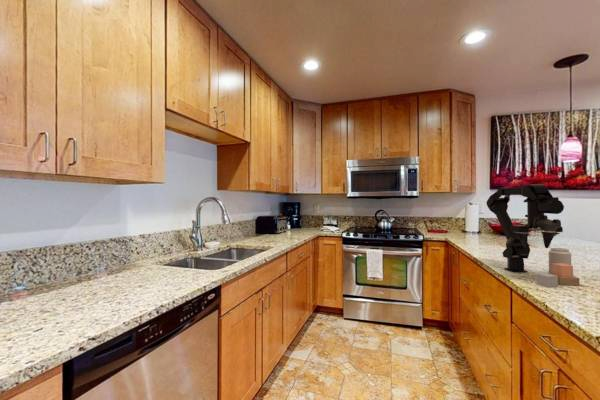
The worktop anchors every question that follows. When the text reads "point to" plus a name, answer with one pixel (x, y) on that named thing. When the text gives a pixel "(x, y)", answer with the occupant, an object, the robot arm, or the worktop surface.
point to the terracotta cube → (562, 270)
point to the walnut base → (567, 281)
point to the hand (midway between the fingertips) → (536, 248)
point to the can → (559, 257)
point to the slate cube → (547, 280)
